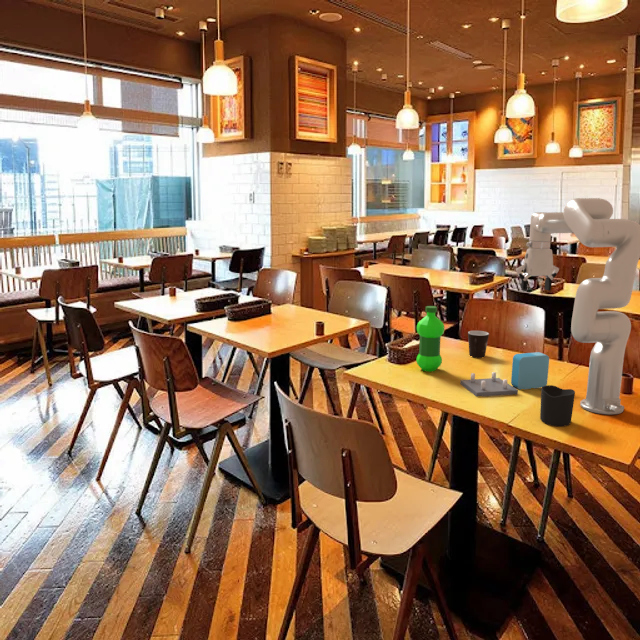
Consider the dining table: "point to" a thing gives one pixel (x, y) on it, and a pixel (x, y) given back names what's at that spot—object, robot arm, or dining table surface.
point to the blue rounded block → (530, 370)
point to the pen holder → (556, 405)
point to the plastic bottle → (429, 340)
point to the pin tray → (488, 386)
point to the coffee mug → (477, 343)
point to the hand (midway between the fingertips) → (535, 290)
